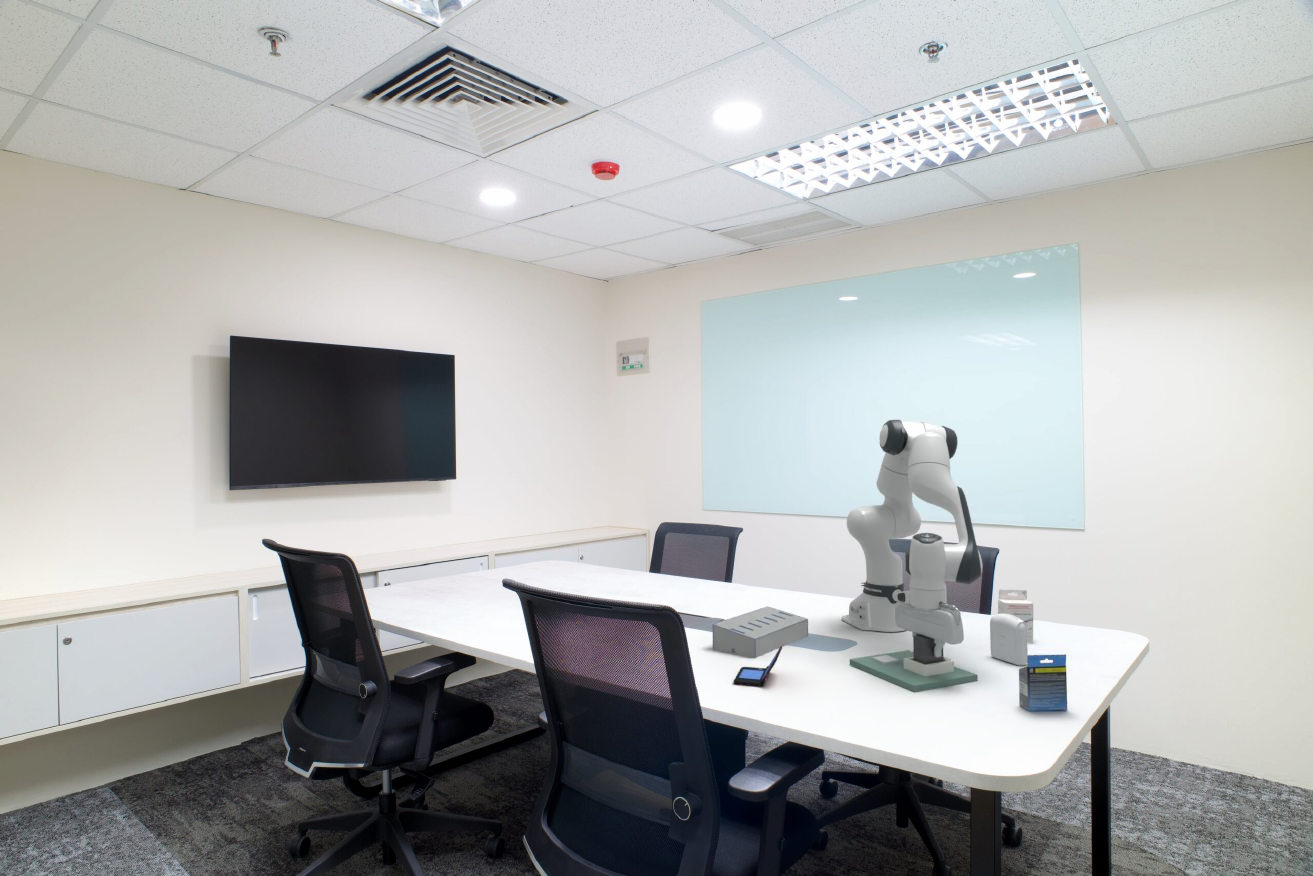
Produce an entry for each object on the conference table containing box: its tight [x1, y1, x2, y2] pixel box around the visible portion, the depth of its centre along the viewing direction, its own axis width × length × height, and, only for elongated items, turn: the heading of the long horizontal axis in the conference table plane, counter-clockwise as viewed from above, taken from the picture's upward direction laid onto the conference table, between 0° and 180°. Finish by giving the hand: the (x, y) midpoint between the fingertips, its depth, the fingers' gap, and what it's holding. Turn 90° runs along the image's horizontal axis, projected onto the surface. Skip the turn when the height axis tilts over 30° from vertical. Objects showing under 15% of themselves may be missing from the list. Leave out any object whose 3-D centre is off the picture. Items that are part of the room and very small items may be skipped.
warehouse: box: [712, 606, 809, 659], centre depth 219 cm, size 30×14×8 cm, turn 140°
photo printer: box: [989, 613, 1029, 666], centre depth 199 cm, size 10×4×12 cm, turn 20°
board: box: [849, 649, 978, 693], centre depth 189 cm, size 24×20×4 cm
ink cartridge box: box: [997, 588, 1034, 644], centre depth 219 cm, size 9×5×15 cm, turn 84°
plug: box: [912, 635, 944, 665], centre depth 187 cm, size 4×7×8 cm, turn 114°
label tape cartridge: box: [1018, 653, 1068, 712], centre depth 163 cm, size 9×4×12 cm, turn 92°
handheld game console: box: [733, 646, 783, 688], centre depth 185 cm, size 12×11×7 cm
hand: (928, 653), depth 187 cm, fingers closed on plug, 4 cm apart
